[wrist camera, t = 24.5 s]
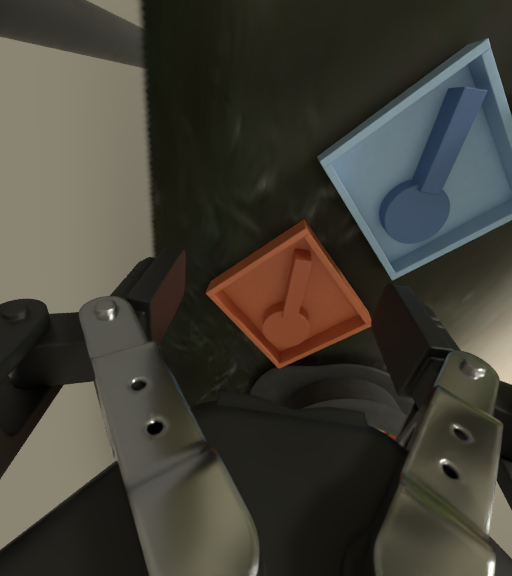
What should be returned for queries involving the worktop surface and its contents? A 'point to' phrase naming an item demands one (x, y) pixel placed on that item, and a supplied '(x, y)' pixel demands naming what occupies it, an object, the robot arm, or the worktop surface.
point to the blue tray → (407, 153)
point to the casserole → (338, 392)
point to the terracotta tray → (271, 289)
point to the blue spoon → (431, 172)
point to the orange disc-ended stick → (290, 306)
